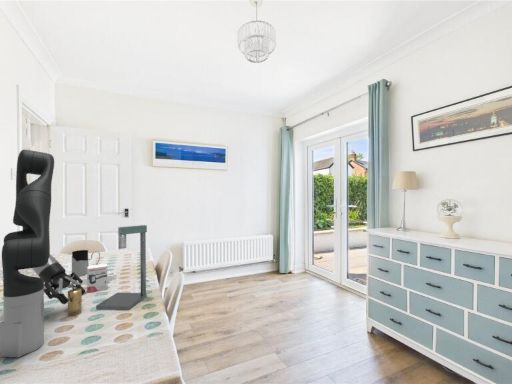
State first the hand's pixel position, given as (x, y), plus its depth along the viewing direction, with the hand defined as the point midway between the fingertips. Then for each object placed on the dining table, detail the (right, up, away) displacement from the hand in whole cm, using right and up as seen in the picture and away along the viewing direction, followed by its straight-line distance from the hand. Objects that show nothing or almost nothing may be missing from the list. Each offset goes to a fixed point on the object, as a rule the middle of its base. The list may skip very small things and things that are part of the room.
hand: (75, 298), depth 102 cm
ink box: (-7, -7, +26) cm, 27 cm away
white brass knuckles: (-16, -7, +40) cm, 44 cm away
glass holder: (-26, -7, +46) cm, 54 cm away
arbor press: (+14, -6, +10) cm, 18 cm away
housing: (0, -6, 0) cm, 6 cm away
